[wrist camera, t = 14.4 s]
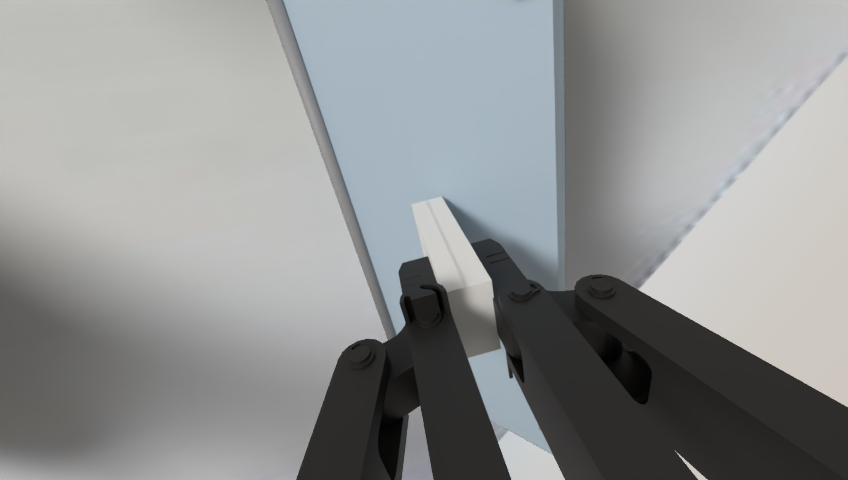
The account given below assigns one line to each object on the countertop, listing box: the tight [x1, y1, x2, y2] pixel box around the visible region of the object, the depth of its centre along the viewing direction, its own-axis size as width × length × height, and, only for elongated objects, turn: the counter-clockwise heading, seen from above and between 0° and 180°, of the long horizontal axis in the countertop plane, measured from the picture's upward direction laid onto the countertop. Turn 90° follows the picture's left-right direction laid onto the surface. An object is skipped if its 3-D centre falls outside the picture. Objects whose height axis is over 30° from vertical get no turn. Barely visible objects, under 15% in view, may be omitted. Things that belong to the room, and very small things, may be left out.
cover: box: [266, 0, 566, 455], centre depth 17 cm, size 1×30×13 cm
